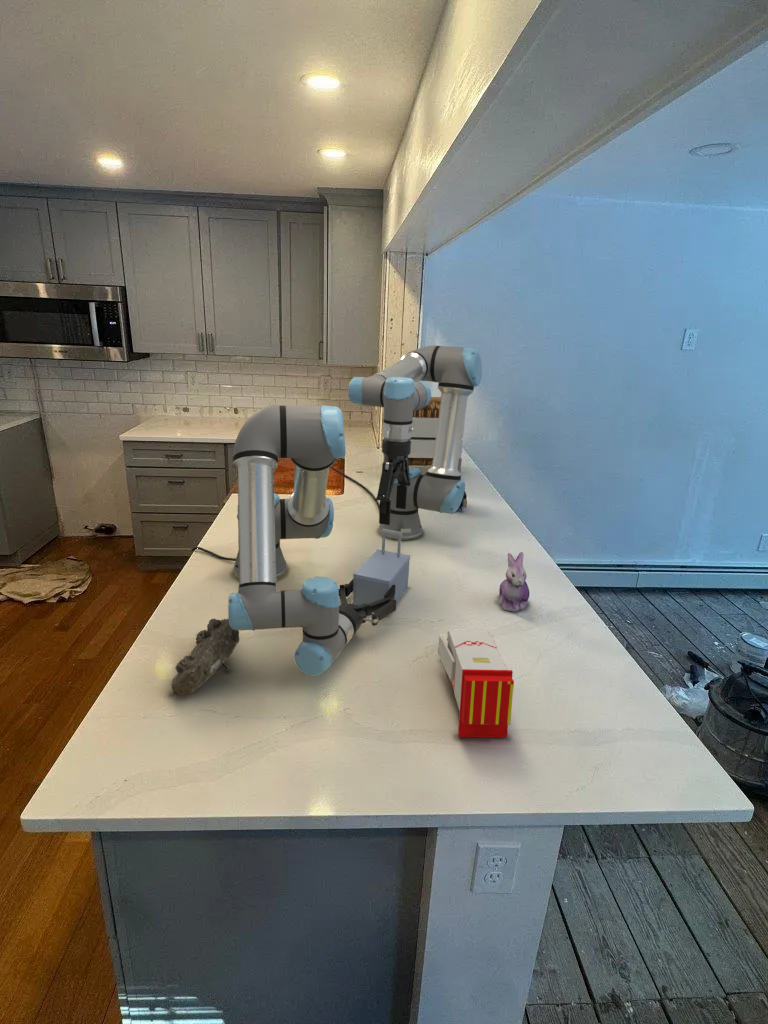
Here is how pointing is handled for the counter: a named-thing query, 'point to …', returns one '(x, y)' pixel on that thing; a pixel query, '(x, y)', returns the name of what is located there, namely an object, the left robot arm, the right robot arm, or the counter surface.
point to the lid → (383, 562)
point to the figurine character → (463, 502)
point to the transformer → (425, 435)
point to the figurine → (514, 585)
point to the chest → (379, 588)
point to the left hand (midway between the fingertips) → (374, 585)
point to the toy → (478, 682)
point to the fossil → (205, 656)
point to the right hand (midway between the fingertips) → (392, 515)
